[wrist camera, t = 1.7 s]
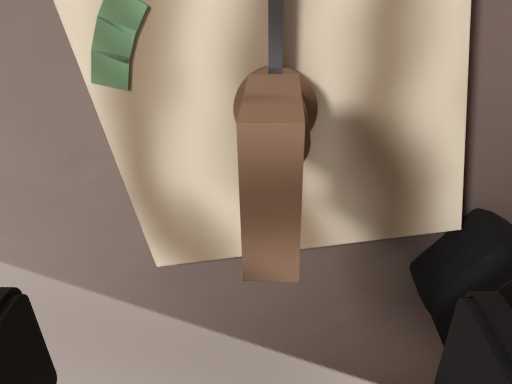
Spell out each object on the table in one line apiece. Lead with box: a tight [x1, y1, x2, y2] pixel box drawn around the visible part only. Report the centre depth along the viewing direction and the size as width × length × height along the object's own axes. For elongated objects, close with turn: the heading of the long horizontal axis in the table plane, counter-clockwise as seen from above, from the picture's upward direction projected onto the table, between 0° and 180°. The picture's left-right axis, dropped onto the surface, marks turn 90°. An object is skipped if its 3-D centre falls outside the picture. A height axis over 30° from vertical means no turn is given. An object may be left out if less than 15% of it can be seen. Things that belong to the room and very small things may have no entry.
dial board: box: [54, 0, 471, 267], centre depth 24 cm, size 20×20×2 cm
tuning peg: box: [233, 0, 318, 282], centre depth 17 cm, size 12×4×11 cm, turn 2°
